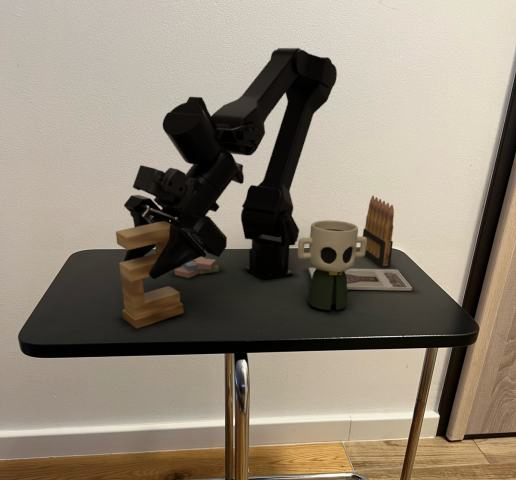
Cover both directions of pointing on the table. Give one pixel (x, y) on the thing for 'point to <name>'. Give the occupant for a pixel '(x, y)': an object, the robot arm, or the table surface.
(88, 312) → the table surface
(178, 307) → the wooden numeral
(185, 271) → the letter pile
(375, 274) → the graded card
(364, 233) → the ammunition clip
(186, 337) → the table surface
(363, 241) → the character mug
